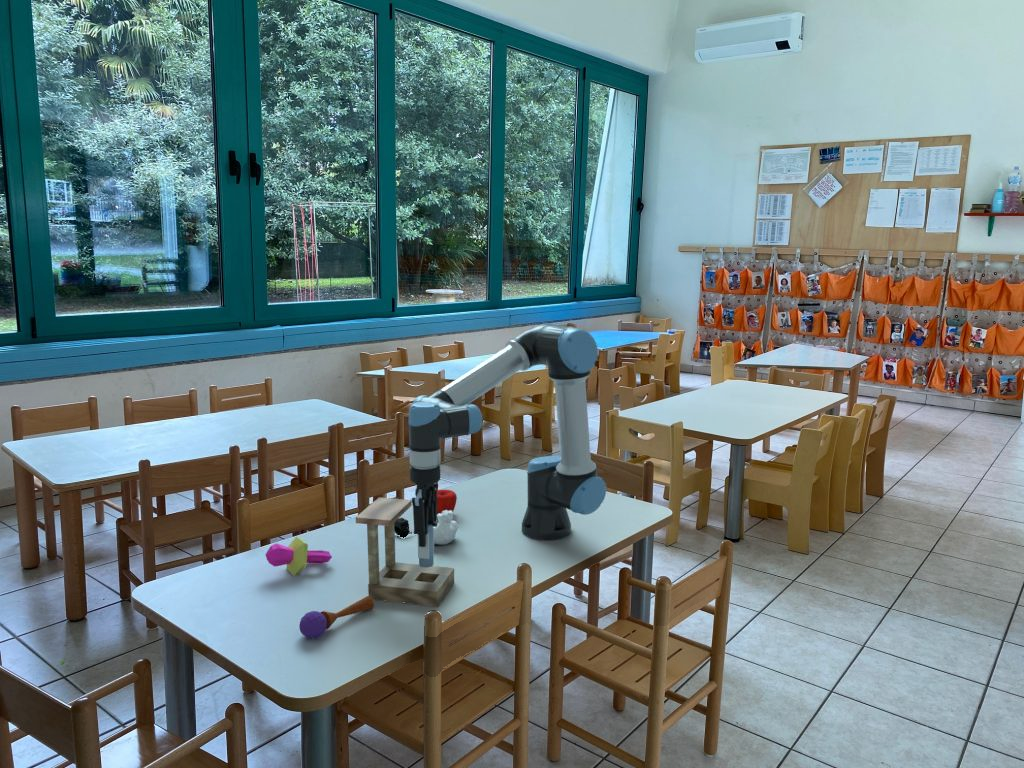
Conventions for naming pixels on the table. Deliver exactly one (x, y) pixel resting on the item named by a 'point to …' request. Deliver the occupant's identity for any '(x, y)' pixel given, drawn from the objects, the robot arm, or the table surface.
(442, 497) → the apple
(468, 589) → the table surface
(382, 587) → the socket board
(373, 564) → the awning
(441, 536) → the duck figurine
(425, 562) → the peg
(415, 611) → the table surface
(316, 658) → the table surface
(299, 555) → the toy
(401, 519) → the black rounded block
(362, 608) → the kendama
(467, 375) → the robot arm
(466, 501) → the table surface
